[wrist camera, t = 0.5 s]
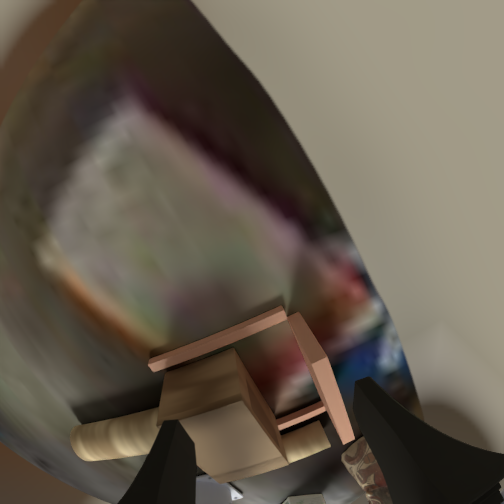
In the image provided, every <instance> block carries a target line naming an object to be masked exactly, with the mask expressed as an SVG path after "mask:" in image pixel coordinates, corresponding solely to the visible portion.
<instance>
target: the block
mask: <svg viewBox="0 0 504 504" xmlns="http://www.w3.org/2000/svg"><path fill="white" fill-rule="evenodd" d="M175 419H178V420H179V422H180V423H181V425H182V426H183V427H184V429H185V430H186V432H187V433H188V435H189V436H190V437H191V439H192V440H193V442H194V443H195V451H196V462H197V466H199V467H200V468H201V469H202V470H203V471H204V472H206V473H207V474H208V475H209V476H210V477H212V478H213V479H214V480H215V481H217V482H218V483H219V484H223V483H227V482H232V481H236V480H240V479H243V478H247V477H251V476H254V475H258V474H261V473H265V472H268V471H271V470H274V469H277V468H280V467H283V466H286V465H289V462H288V459H287V456H286V452H285V449H284V446H283V442H282V439H281V435H280V432H279V429H278V425H277V422H276V418H275V415H274V414H273V412H272V411H271V409H270V407H269V406H268V404H267V403H266V401H265V399H264V398H263V396H262V394H261V393H260V391H259V390H258V388H257V386H256V385H255V383H254V381H253V380H252V378H251V376H250V374H249V373H248V371H247V369H246V368H245V366H244V364H243V363H242V361H241V359H240V357H239V356H238V354H237V352H236V350H235V349H234V347H233V348H230V349H228V350H225V351H223V352H220V353H218V354H215V355H213V356H210V357H207V358H205V359H202V360H200V361H197V362H194V363H191V364H189V365H186V366H183V367H180V368H178V369H175V370H172V371H169V372H166V373H165V376H164V382H163V387H162V393H161V399H160V405H159V411H158V417H157V424H156V427H157V428H158V429H159V430H160V428H161V425H162V423H163V421H164V420H175Z"/></svg>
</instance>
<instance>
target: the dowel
mask: <svg viewBox="0 0 504 504" xmlns="http://www.w3.org/2000/svg"><path fill="white" fill-rule="evenodd" d="M158 411H159V407H157V408H153V409H149V410H145V411H142V412H138V413H134V414H130V415H126V416H121V417H117V418H113V419H108V420H103V421H98V422H93V423H88V424H83V425H77V426H75V427H74V428H73V429H72V430H71V434H70V441H71V445H72V447H73V449H74V451H75V453H76V454H77V455H78V456H79V457H80V458H81V459H83V460H85V461H96V460H107V459H116V458H124V457H131V456H137V455H143V454H149V452H150V450H151V447H152V445H153V443H154V441H155V439H156V437H157V434H158V432H159V429H158V428H157V427H156V424H157V417H158Z"/></svg>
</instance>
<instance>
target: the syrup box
mask: <svg viewBox="0 0 504 504" xmlns="http://www.w3.org/2000/svg"><path fill="white" fill-rule="evenodd" d="M282 504H326V502H325V500H324V497H323V495H322V494H311V495H301V496H291V497H287V499H286V500H285V502H283V503H282Z"/></svg>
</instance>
